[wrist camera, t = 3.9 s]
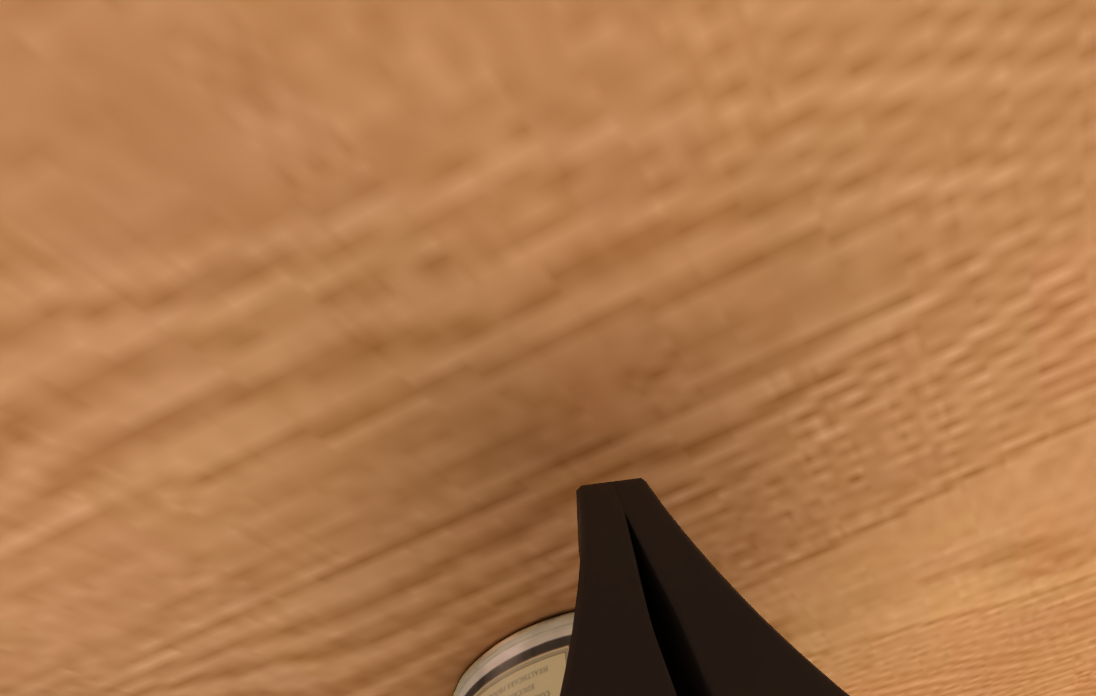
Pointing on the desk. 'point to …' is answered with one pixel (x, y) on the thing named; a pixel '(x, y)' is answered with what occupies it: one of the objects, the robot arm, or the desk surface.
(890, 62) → the desk surface
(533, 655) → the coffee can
